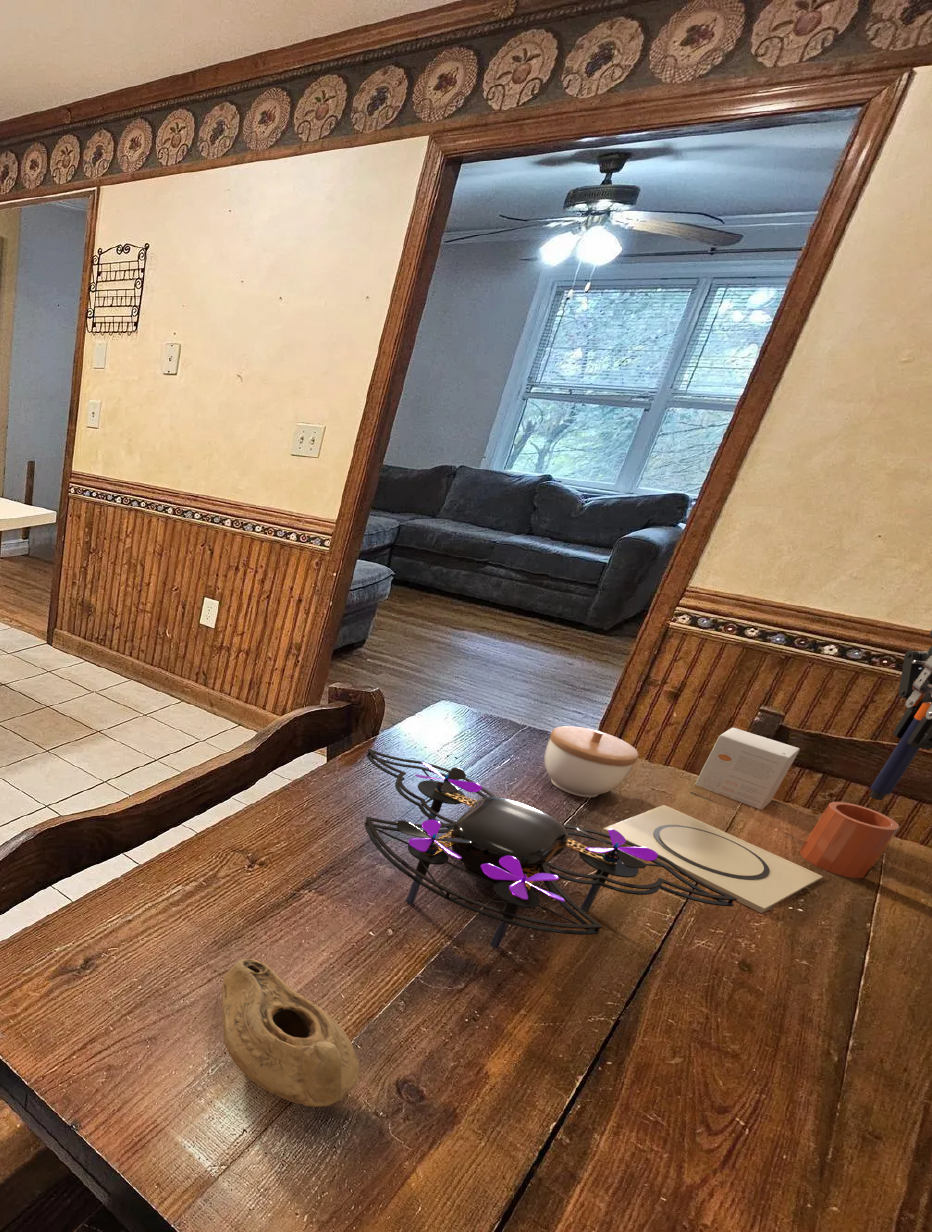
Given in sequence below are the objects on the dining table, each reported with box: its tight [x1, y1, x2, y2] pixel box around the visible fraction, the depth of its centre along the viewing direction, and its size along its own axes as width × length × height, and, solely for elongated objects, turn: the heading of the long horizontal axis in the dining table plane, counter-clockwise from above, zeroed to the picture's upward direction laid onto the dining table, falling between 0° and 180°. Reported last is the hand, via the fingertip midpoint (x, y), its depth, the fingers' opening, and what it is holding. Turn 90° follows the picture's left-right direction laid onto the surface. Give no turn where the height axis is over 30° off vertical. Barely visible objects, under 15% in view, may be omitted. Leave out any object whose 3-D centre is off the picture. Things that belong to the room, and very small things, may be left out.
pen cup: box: [799, 801, 900, 879], centre depth 102 cm, size 6×6×8 cm
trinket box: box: [543, 725, 640, 798], centre depth 117 cm, size 11×11×9 cm
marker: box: [869, 702, 931, 801], centre depth 96 cm, size 2×2×13 cm
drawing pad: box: [601, 804, 824, 914], centre depth 104 cm, size 16×18×1 cm
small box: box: [689, 727, 800, 810], centre depth 115 cm, size 8×6×10 cm
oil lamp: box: [221, 958, 360, 1108], centre depth 69 cm, size 11×15×8 cm
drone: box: [363, 748, 737, 949], centre depth 91 cm, size 40×10×28 cm
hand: (911, 741), depth 96 cm, fingers closed on marker, 2 cm apart
